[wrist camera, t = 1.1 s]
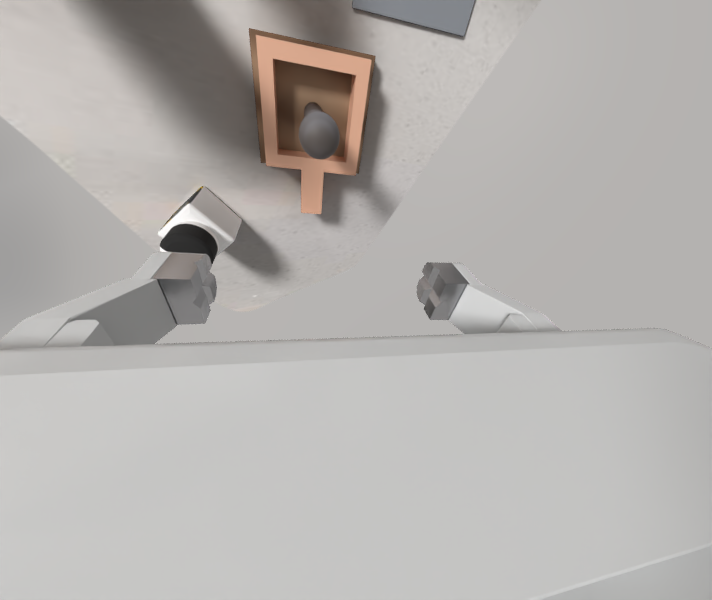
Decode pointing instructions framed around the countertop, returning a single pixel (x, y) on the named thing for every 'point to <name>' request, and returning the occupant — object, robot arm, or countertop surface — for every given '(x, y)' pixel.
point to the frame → (274, 156)
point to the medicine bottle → (200, 226)
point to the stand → (309, 103)
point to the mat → (423, 12)
